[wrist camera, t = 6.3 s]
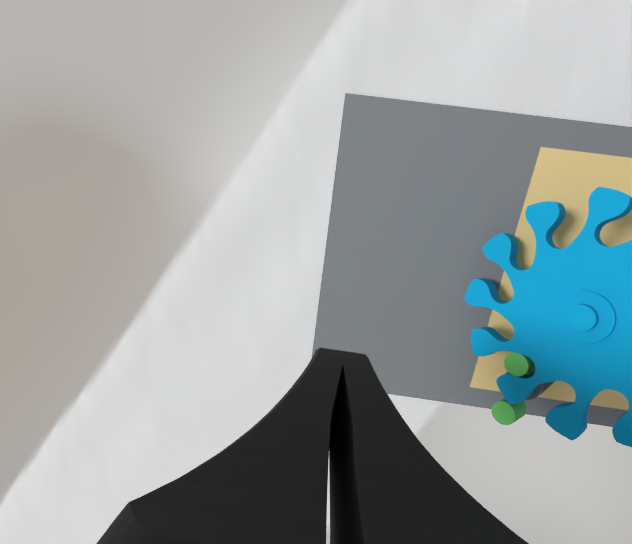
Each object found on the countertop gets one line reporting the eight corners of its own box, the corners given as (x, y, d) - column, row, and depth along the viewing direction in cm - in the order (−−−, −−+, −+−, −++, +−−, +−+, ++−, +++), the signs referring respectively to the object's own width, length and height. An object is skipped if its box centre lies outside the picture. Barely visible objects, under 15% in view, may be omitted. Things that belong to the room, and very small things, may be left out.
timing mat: (763, 143, 18) (777, 144, 17) (629, 422, 23) (636, 430, 23) (345, 94, 18) (345, 93, 18) (309, 375, 24) (308, 382, 23)
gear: (561, 136, 16) (896, 316, 11) (601, 162, 20) (858, 302, 15) (408, 332, 21) (578, 522, 16) (464, 322, 25) (615, 470, 20)
